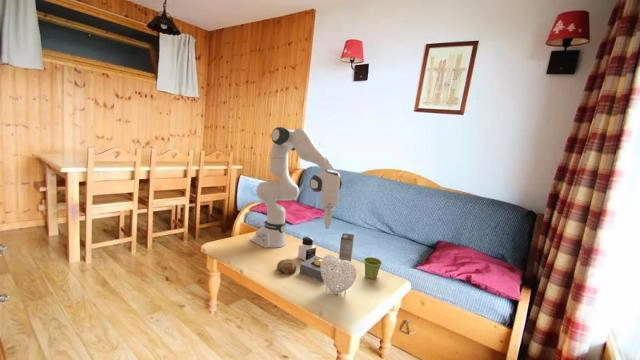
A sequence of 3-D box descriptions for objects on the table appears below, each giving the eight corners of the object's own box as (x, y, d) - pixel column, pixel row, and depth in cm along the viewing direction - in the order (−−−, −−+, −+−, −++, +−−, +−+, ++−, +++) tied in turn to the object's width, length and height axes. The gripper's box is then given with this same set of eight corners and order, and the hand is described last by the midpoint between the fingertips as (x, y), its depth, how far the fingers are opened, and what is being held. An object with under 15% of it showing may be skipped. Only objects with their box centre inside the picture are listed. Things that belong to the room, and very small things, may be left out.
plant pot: (383, 277, 163) (385, 262, 162) (373, 282, 157) (375, 266, 155) (369, 270, 170) (370, 255, 168) (358, 275, 163) (360, 259, 162)
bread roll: (274, 277, 161) (272, 266, 156) (283, 262, 169) (281, 252, 164) (292, 282, 158) (290, 271, 153) (300, 266, 166) (298, 256, 161)
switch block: (299, 273, 160) (300, 263, 159) (314, 264, 172) (315, 255, 171) (322, 282, 153) (323, 272, 152) (336, 272, 165) (337, 263, 164)
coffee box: (340, 259, 182) (343, 232, 179) (351, 261, 181) (354, 234, 178) (337, 265, 173) (340, 237, 170) (349, 267, 172) (352, 239, 169)
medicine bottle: (305, 261, 174) (307, 241, 172) (297, 256, 179) (299, 236, 178) (315, 258, 179) (317, 238, 177) (307, 254, 184) (309, 234, 182)
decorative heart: (312, 290, 144) (316, 255, 142) (326, 282, 153) (329, 249, 150) (345, 306, 134) (350, 268, 131) (358, 296, 142) (362, 261, 140)
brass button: (310, 266, 161) (311, 260, 160) (317, 262, 166) (317, 256, 165) (320, 270, 158) (321, 263, 157) (326, 266, 163) (327, 259, 162)
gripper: (335, 207, 151) (333, 234, 153) (335, 198, 171) (333, 222, 173) (322, 205, 151) (320, 233, 153) (324, 197, 171) (322, 221, 173)
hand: (327, 227), depth 163 cm, fingers closed
